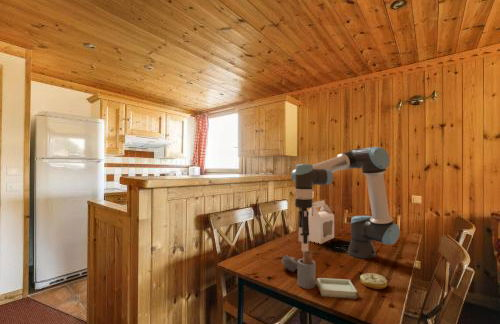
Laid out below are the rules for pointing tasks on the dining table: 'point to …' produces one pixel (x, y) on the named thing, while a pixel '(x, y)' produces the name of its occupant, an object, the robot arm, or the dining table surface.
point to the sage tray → (336, 288)
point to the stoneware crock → (306, 274)
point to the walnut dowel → (307, 257)
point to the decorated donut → (373, 281)
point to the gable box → (320, 223)
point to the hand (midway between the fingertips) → (303, 245)
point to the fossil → (289, 263)
